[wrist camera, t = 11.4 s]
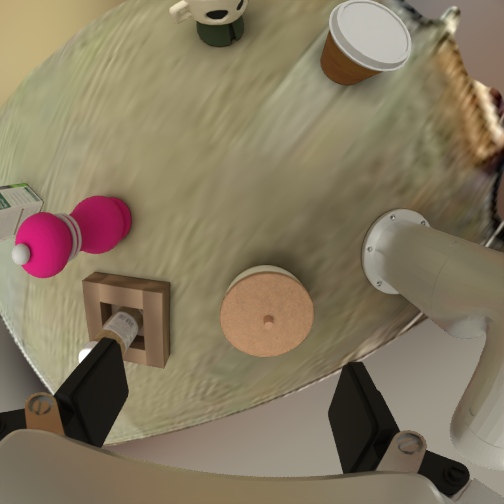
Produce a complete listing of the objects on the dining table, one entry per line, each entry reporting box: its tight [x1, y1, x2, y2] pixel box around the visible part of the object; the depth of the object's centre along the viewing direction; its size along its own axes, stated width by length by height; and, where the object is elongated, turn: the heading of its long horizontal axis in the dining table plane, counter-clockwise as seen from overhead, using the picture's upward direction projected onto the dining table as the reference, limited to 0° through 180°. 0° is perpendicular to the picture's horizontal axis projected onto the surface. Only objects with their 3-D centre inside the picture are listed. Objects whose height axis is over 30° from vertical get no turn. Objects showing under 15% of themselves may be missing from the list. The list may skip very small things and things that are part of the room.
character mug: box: [170, 0, 248, 46], centre depth 24 cm, size 11×7×13 cm, turn 126°
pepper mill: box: [12, 196, 131, 278], centre depth 27 cm, size 7×7×20 cm
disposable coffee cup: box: [321, 0, 411, 85], centre depth 26 cm, size 10×10×12 cm
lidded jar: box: [220, 265, 314, 357], centre depth 35 cm, size 11×11×9 cm
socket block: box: [82, 272, 170, 369], centre depth 38 cm, size 12×12×4 cm
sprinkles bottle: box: [79, 306, 144, 363], centre depth 33 cm, size 5×5×13 cm
